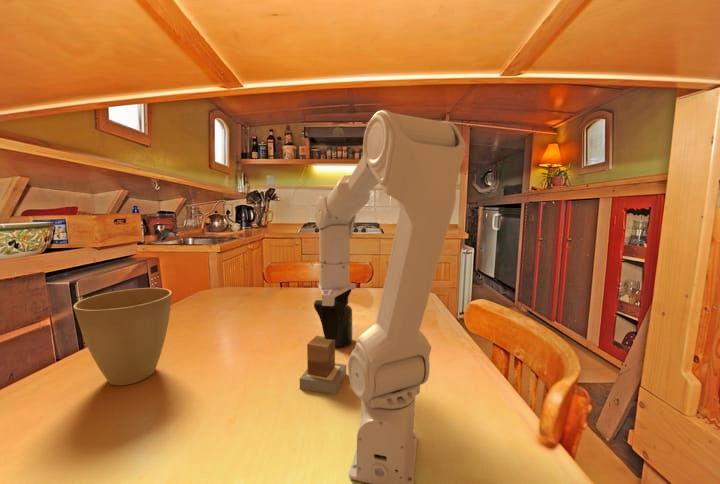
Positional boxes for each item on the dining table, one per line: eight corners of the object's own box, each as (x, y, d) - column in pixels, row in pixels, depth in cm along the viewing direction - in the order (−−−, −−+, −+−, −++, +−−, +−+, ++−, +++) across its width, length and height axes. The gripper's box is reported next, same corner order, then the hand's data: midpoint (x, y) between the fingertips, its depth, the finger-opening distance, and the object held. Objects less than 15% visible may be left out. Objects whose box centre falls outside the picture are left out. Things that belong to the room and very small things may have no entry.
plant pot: (187, 354, 69) (183, 286, 67) (155, 394, 54) (149, 308, 52) (113, 359, 66) (107, 288, 64) (58, 402, 52) (49, 312, 50)
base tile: (335, 394, 55) (335, 383, 54) (299, 388, 56) (299, 378, 56) (346, 374, 61) (346, 364, 61) (314, 369, 63) (314, 359, 63)
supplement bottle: (340, 334, 81) (340, 290, 79) (357, 342, 76) (358, 296, 75) (319, 342, 76) (319, 295, 75) (336, 351, 71) (337, 302, 70)
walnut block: (327, 377, 56) (327, 347, 56) (307, 374, 57) (307, 344, 57) (334, 367, 60) (335, 338, 59) (316, 363, 61) (316, 335, 61)
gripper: (351, 269, 50) (351, 348, 51) (358, 255, 64) (357, 317, 66) (309, 268, 50) (310, 346, 52) (325, 255, 65) (325, 316, 66)
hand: (334, 330), depth 59 cm, fingers open, 7 cm apart
